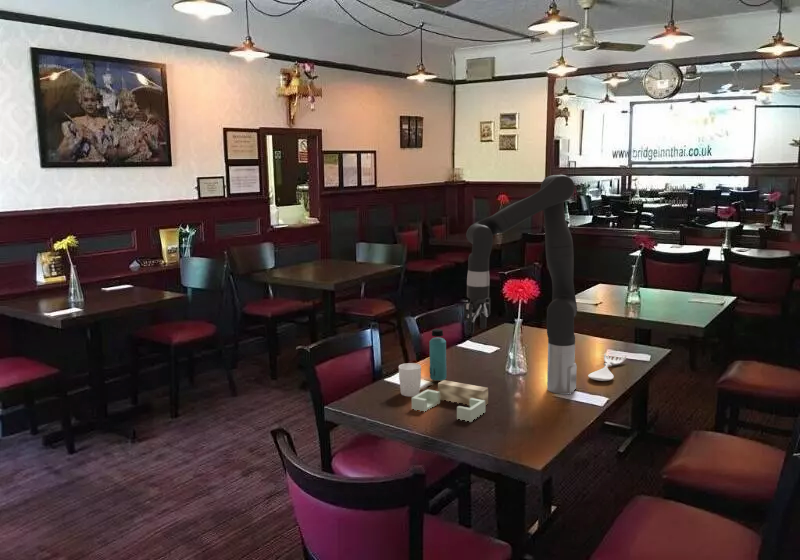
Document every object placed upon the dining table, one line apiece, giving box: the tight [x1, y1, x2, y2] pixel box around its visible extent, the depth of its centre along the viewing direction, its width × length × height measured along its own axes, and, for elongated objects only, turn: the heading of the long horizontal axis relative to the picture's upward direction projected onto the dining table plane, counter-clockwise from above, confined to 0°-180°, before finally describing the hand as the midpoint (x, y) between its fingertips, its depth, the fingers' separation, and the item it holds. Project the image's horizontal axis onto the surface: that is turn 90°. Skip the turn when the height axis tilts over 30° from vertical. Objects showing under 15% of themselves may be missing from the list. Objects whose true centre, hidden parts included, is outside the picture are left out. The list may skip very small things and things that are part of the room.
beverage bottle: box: [428, 328, 448, 381], centre depth 245 cm, size 6×7×20 cm
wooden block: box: [437, 379, 489, 407], centre depth 225 cm, size 17×4×6 cm, turn 57°
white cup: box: [398, 362, 422, 397], centre depth 234 cm, size 8×8×10 cm
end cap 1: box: [411, 389, 441, 413], centre depth 222 cm, size 5×10×4 cm, turn 146°
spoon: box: [587, 353, 627, 382], centre depth 254 cm, size 9×32×4 cm, turn 151°
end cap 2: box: [456, 398, 486, 423], centre depth 212 cm, size 5×10×4 cm, turn 146°
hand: (477, 330), depth 227 cm, fingers open, 8 cm apart
